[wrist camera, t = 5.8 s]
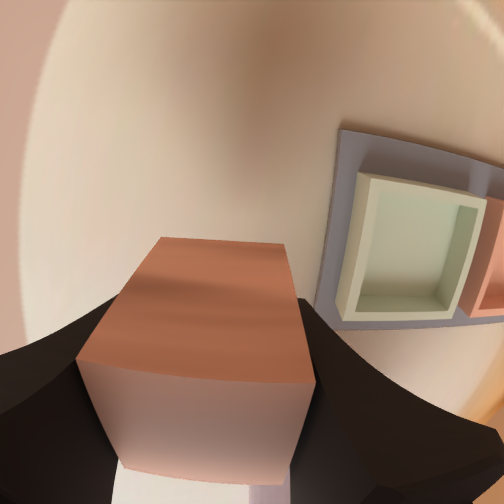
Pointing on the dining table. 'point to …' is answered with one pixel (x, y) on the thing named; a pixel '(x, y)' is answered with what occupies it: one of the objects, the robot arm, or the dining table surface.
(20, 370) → the robot arm
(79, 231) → the dining table surface
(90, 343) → the terracotta block
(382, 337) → the dining table surface
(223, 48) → the dining table surface
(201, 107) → the dining table surface
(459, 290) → the sorting board
